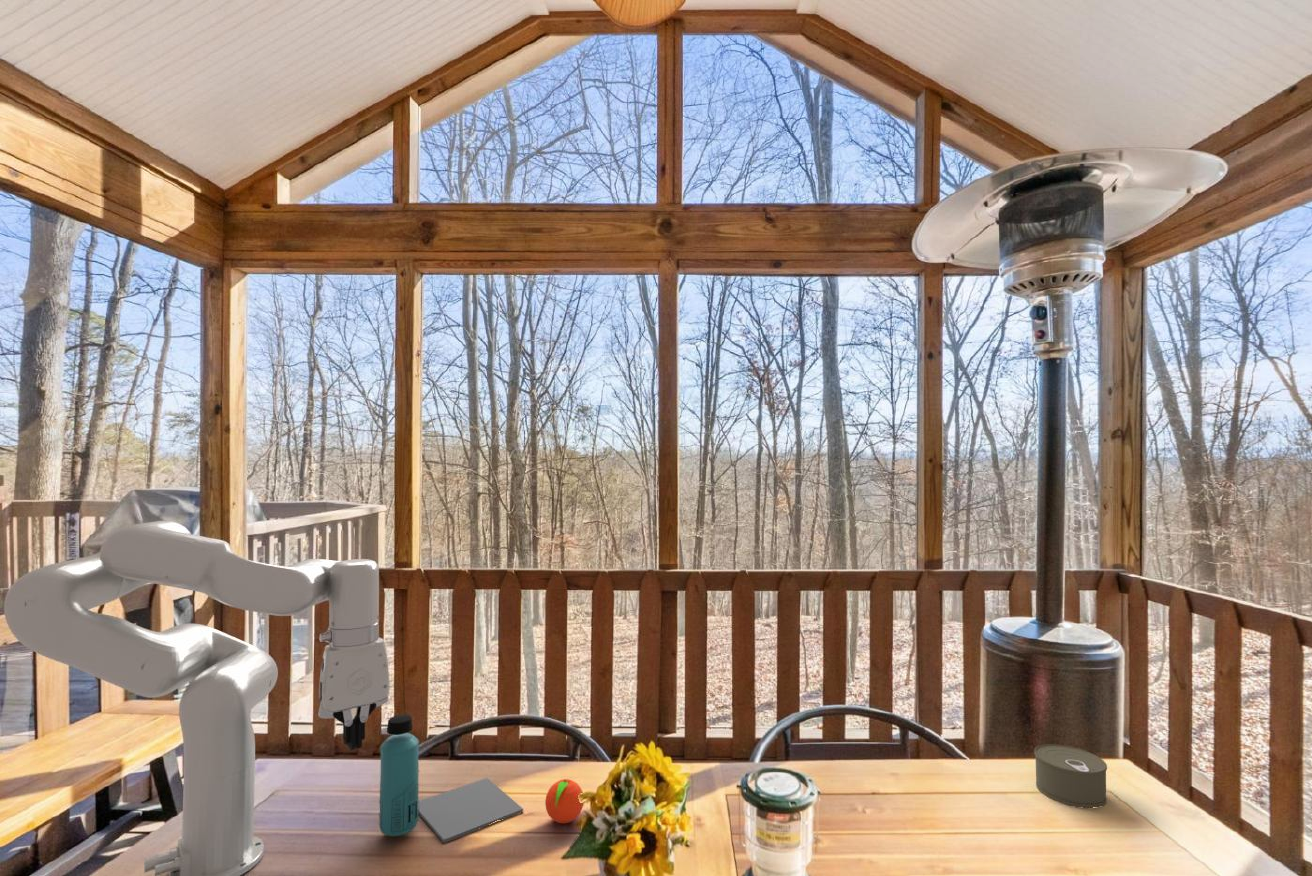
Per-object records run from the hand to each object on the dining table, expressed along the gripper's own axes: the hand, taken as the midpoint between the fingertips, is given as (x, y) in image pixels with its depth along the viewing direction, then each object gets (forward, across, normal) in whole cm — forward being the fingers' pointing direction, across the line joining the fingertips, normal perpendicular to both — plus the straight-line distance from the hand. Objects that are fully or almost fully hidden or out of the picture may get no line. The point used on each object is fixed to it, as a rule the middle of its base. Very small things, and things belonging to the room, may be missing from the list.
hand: (354, 745), depth 107 cm
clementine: (+18, +31, -15) cm, 39 cm away
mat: (+18, +20, 0) cm, 27 cm away
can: (+20, +113, -70) cm, 135 cm away
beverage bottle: (+18, +7, 0) cm, 19 cm away
